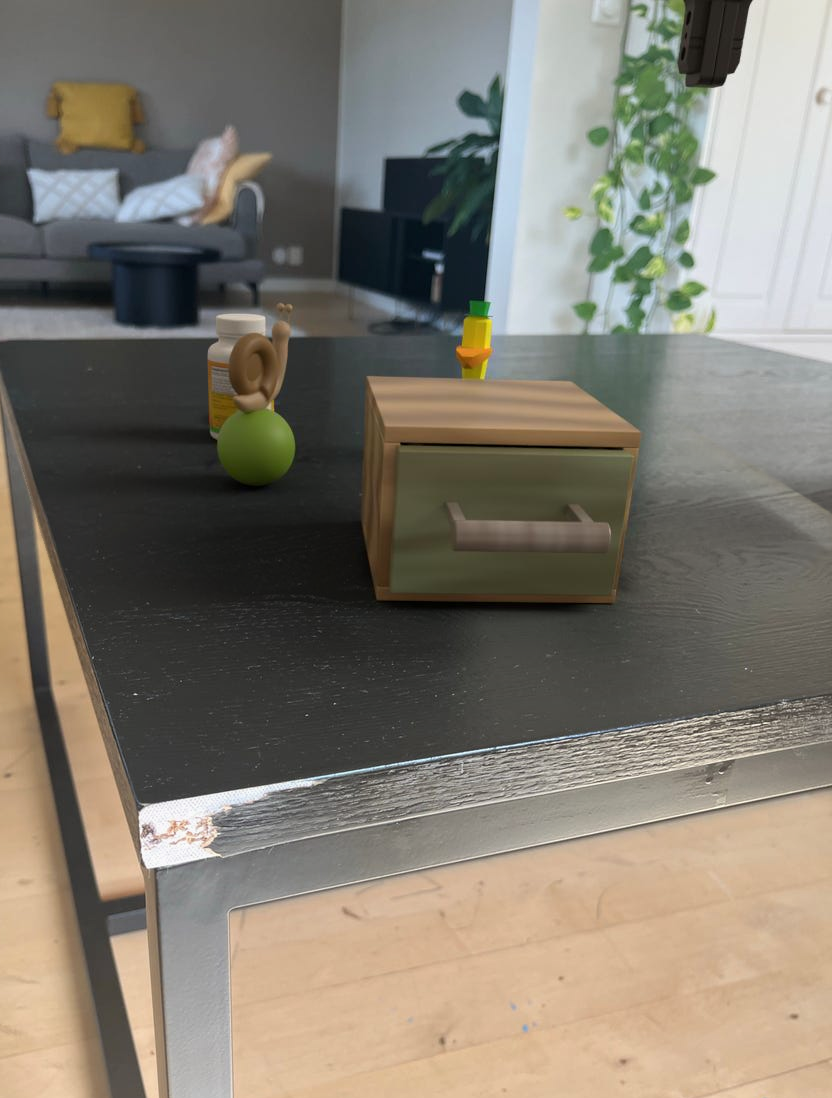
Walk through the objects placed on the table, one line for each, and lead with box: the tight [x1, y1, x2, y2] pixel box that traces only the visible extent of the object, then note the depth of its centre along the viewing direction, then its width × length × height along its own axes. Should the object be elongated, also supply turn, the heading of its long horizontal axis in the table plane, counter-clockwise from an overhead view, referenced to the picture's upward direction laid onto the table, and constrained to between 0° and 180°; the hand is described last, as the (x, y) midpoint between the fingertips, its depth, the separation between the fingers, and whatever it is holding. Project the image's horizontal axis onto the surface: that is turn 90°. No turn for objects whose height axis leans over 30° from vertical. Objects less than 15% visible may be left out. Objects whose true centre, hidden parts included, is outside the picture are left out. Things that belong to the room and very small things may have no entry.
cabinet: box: [360, 375, 642, 604], centre depth 56 cm, size 14×13×9 cm
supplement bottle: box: [207, 313, 275, 441], centre depth 81 cm, size 5×5×10 cm
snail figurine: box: [216, 302, 296, 487], centre depth 68 cm, size 5×6×12 cm
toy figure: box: [455, 300, 494, 379], centre depth 76 cm, size 7×4×12 cm, turn 165°
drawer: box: [389, 443, 634, 596], centre depth 52 cm, size 17×11×7 cm, turn 3°
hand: (705, 85), depth 52 cm, fingers closed
